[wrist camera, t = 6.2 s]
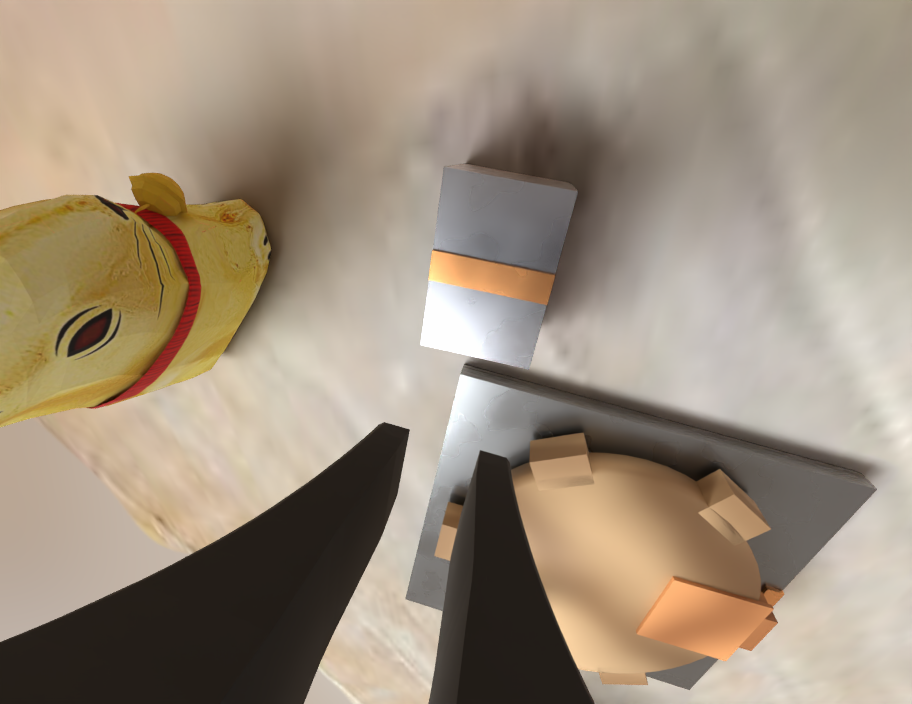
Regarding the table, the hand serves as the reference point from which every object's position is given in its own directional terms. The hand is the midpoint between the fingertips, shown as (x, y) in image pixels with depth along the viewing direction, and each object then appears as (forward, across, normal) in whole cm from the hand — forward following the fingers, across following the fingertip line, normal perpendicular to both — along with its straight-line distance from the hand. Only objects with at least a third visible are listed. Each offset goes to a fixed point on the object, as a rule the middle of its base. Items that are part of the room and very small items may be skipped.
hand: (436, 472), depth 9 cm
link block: (+10, 0, -3) cm, 11 cm away
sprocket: (+9, -8, +11) cm, 16 cm away
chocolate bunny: (+10, +14, +1) cm, 17 cm away
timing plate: (+10, -8, +11) cm, 17 cm away
